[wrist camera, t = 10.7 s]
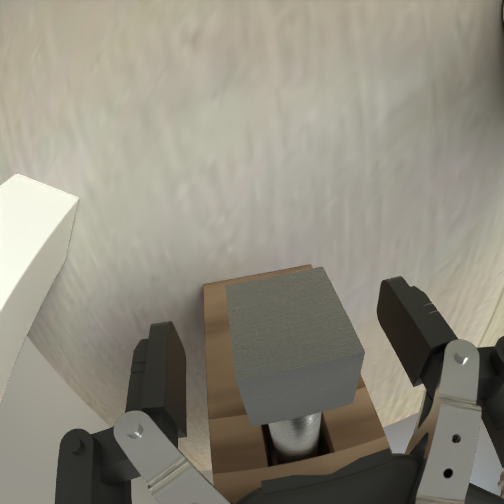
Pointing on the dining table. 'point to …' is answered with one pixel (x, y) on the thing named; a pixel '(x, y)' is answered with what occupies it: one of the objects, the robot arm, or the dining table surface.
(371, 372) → the dining table surface
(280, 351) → the shaft
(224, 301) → the bearing block
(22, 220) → the milk
